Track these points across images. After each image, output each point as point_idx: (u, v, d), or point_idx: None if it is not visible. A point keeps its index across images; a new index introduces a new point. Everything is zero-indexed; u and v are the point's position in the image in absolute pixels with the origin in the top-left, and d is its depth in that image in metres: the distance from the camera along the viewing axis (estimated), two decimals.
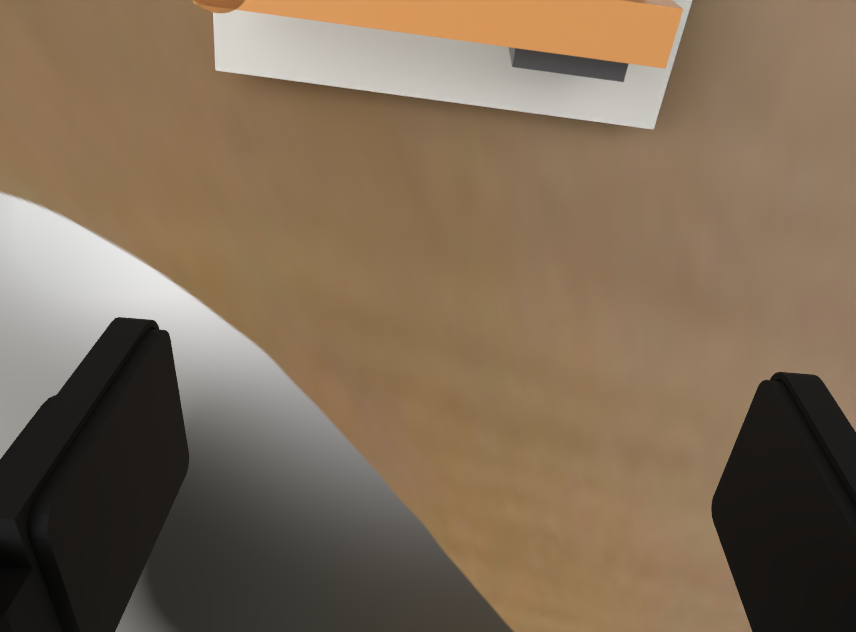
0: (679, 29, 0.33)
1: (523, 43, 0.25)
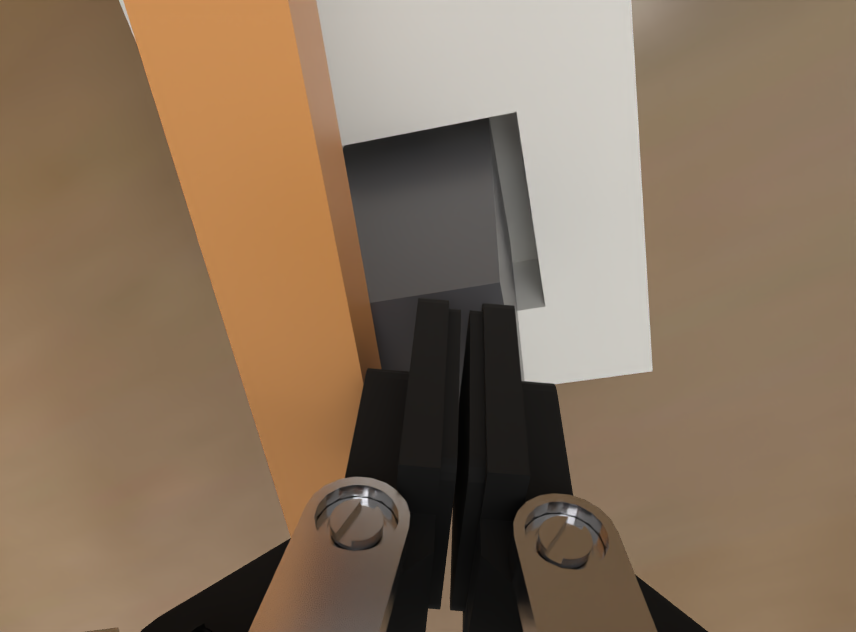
0: None
1: (254, 384, 0.12)
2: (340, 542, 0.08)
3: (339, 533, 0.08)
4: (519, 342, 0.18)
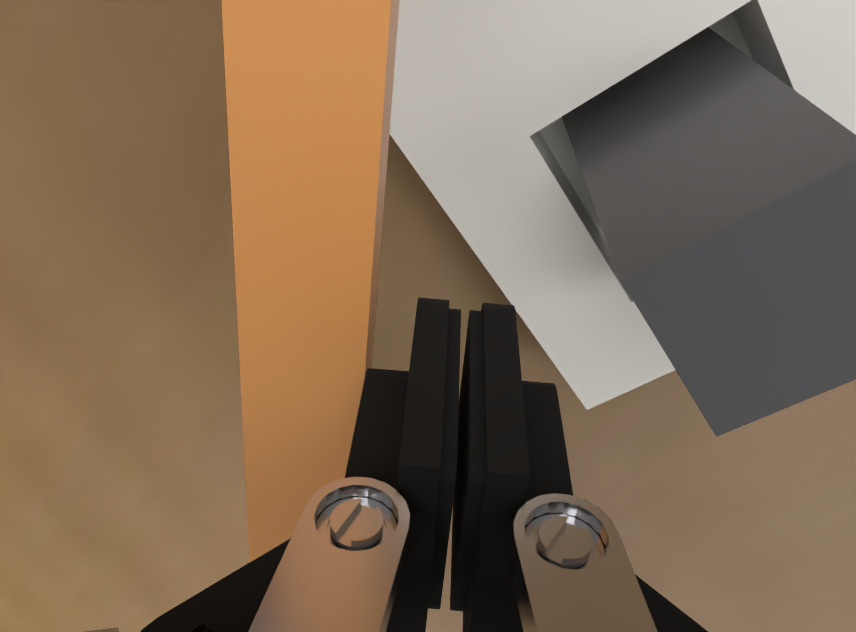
0: None
1: (251, 368, 0.12)
2: (340, 542, 0.08)
3: (339, 533, 0.08)
4: None
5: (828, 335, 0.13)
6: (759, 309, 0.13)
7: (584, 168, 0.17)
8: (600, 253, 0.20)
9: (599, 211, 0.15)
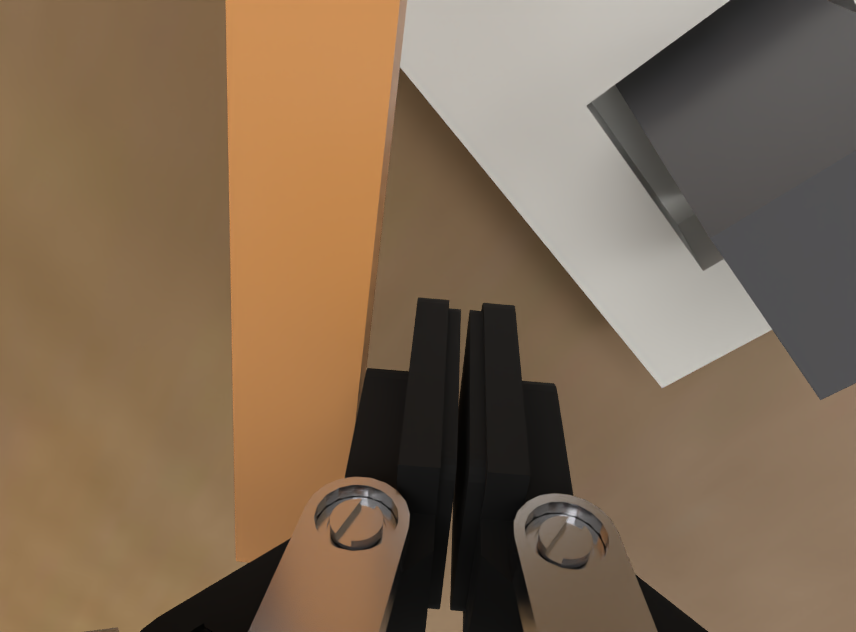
0: None
1: (244, 346, 0.11)
2: (340, 542, 0.08)
3: (339, 533, 0.08)
4: None
5: None
6: None
7: (649, 131, 0.16)
8: (667, 222, 0.20)
9: (673, 172, 0.14)
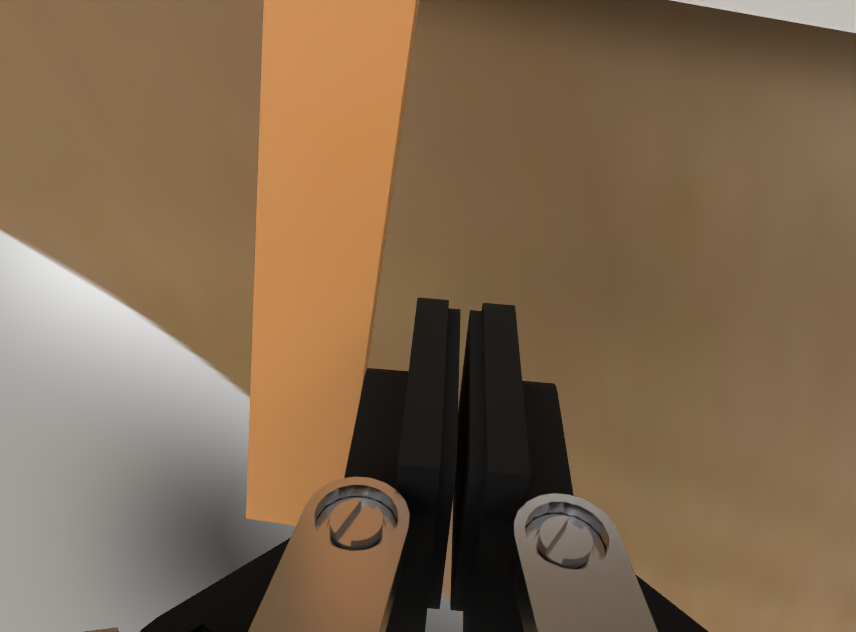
0: None
1: (264, 313, 0.12)
2: (340, 542, 0.08)
3: (339, 533, 0.08)
4: None
5: None
6: None
7: None
8: None
9: None
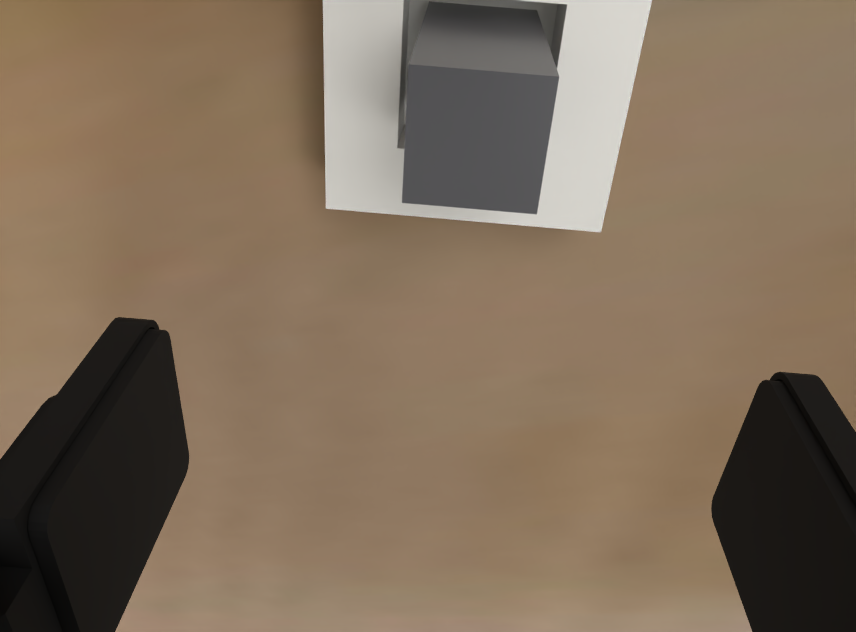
0: (435, 214, 0.31)
1: None
2: None
3: None
4: None
5: (488, 172, 0.23)
6: (464, 132, 0.22)
7: (423, 26, 0.25)
8: (398, 101, 0.29)
9: (418, 42, 0.23)
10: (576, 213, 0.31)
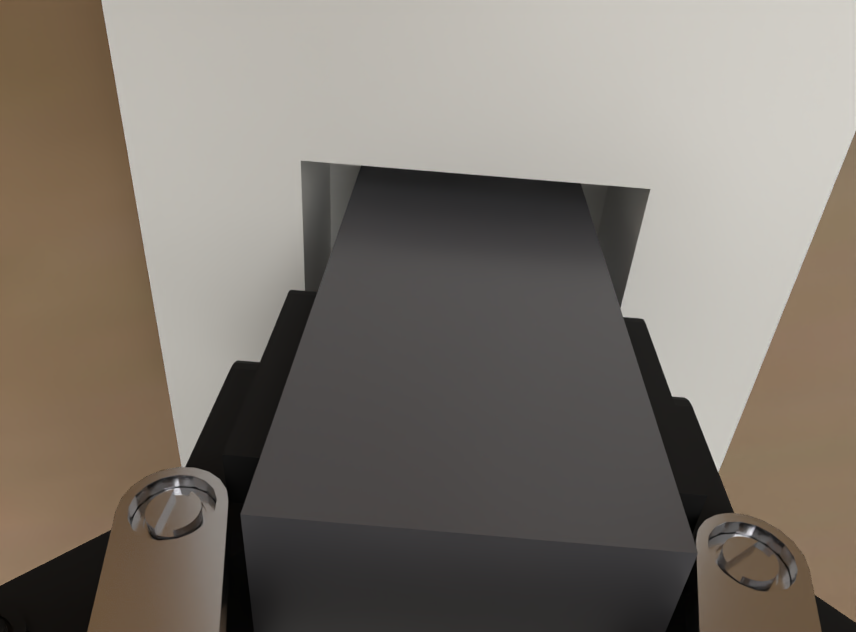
0: None
1: None
2: (161, 535, 0.08)
3: (158, 527, 0.08)
4: None
5: None
6: None
7: (336, 255, 0.11)
8: None
9: (304, 344, 0.09)
10: None
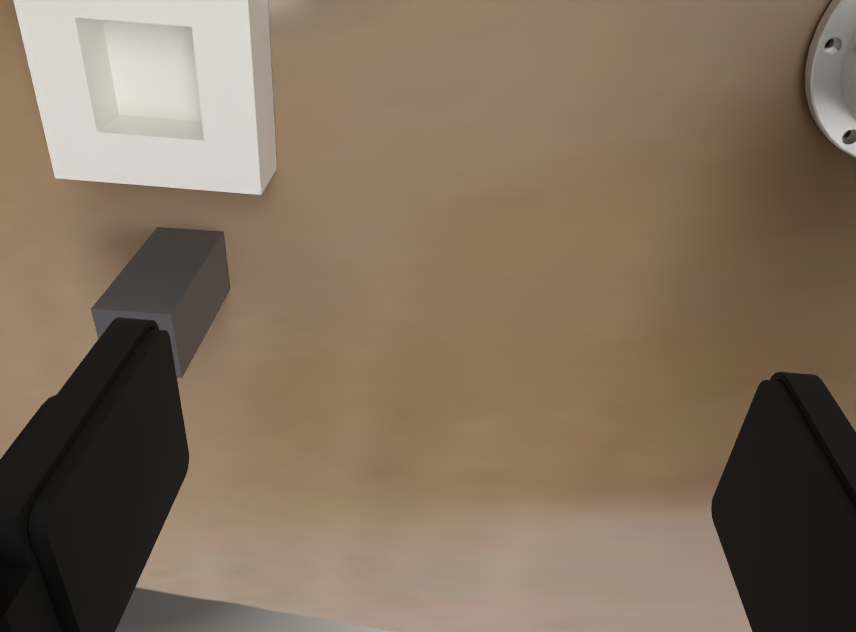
0: (136, 181, 0.42)
1: None
2: None
3: None
4: (200, 335, 0.44)
5: None
6: None
7: (130, 262, 0.44)
8: (89, 97, 0.39)
9: (113, 282, 0.42)
10: (239, 180, 0.41)
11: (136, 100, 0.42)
